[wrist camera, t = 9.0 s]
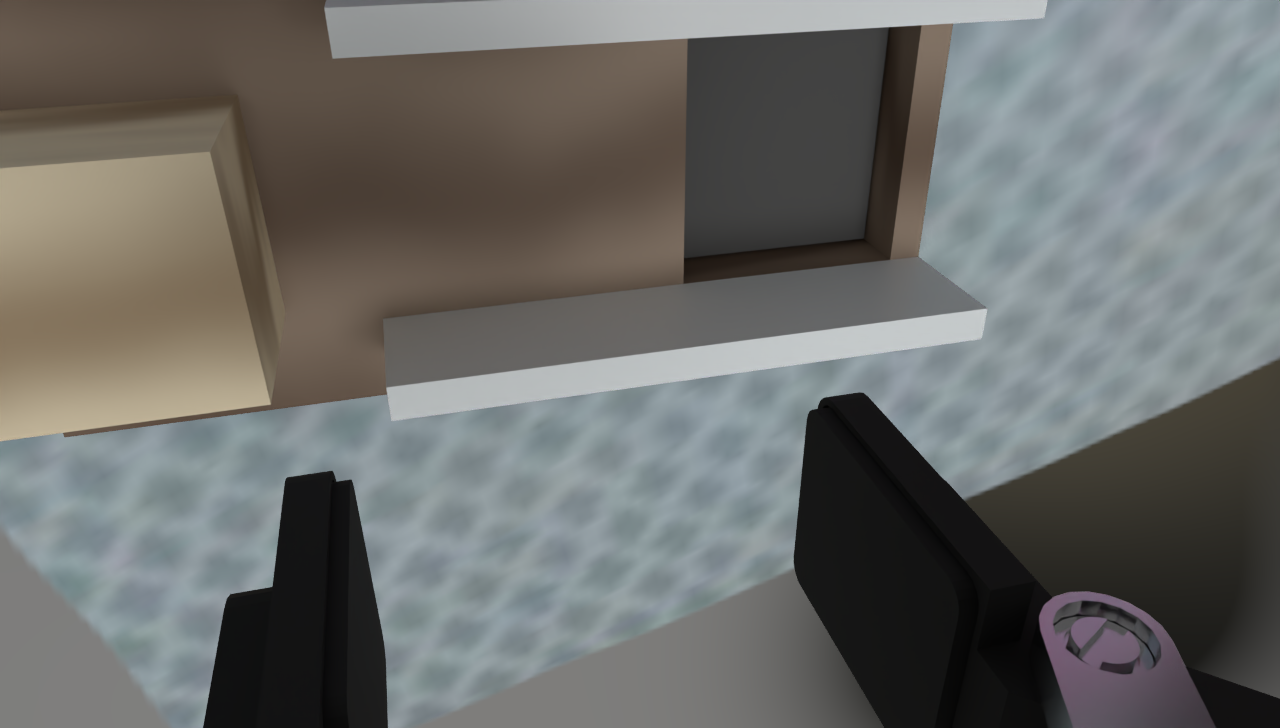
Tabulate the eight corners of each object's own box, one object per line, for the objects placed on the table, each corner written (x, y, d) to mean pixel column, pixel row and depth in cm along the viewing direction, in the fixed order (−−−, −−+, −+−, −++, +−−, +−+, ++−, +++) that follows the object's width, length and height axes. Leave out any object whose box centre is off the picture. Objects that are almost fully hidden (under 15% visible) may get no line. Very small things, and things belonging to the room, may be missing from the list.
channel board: (-88, -83, 21) (-227, -59, 16) (933, -107, 27) (1065, -94, 22) (82, 401, 28) (20, 526, 23) (880, 300, 33) (973, 382, 28)
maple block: (-84, 116, 22) (-192, 184, 17) (237, 94, 23) (210, 151, 19) (5, 345, 25) (-69, 450, 20) (285, 312, 26) (271, 404, 22)
